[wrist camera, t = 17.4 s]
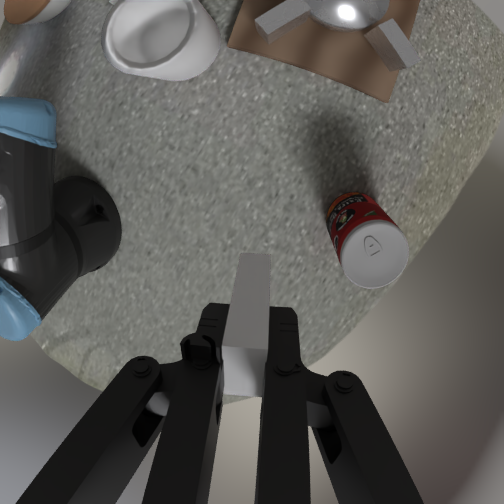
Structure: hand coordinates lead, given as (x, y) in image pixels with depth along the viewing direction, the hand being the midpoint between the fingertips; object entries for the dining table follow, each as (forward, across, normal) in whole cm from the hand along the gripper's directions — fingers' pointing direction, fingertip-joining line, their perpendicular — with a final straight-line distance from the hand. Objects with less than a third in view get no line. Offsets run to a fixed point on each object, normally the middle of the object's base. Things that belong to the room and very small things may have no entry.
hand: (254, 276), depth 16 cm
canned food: (+25, +12, -5) cm, 28 cm away
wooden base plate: (+24, +7, +23) cm, 34 cm away
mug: (+25, -12, +18) cm, 33 cm away
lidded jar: (+25, -32, +29) cm, 50 cm away
